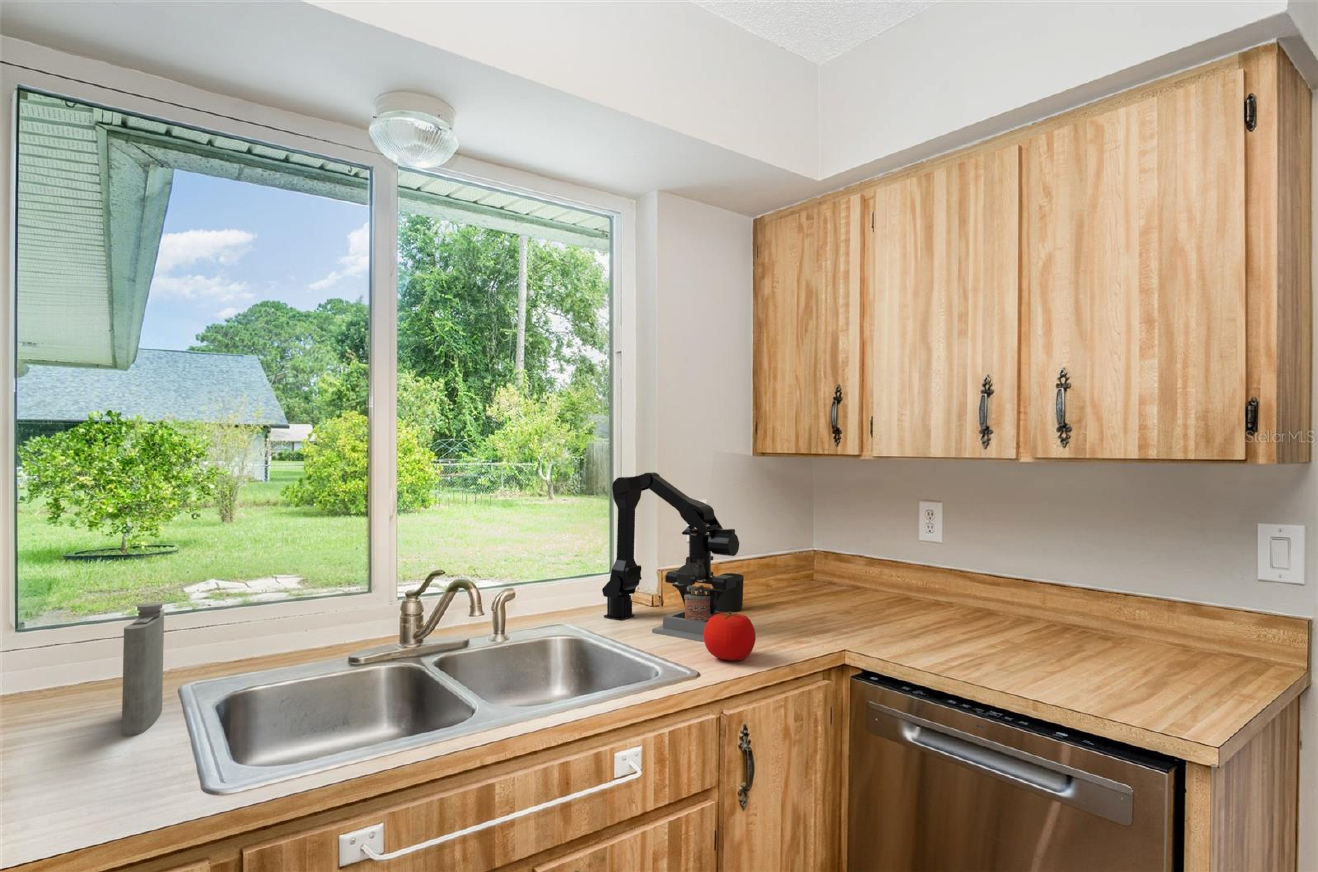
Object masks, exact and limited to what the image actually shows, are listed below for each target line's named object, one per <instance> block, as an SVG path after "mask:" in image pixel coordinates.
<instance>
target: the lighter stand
mask: <svg viewBox="0 0 1318 872" xmlns="http://www.w3.org/2000/svg"><path fill="white" fill-rule="evenodd" d="M721 613H726V612H721V611H716V610H715V612H714V615H716V614H721ZM706 624H707V622H703V621H697V620H690V619H685V609H683V610H680V611H679V610H678V611H677V612H674V613H670V614H667V615H664V616H663V617H662V625H660V626H657V627H656V626H655V627H654V628H652V629H651V632H652V634H657V635H658V634H659V635H662V636H663V635H664V636H669V637H673V638H674V637H675V638H681V639H686V640H692V641H696V642H697V641H698V642H703V643H705V642H704V635H703V634H704V628H705V626H706Z"/></svg>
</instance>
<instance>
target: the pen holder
mask: <svg viewBox="0 0 1318 872" xmlns="http://www.w3.org/2000/svg"><path fill="white" fill-rule="evenodd" d="M721 575H727V576H733V577H734V578H735V580H736V587H734V588H731V589H728V590H725V591H724V593H723V594H722V596H721V598H720V600H719V602H718V605H717V607H716V609H715V611H720V612H728V613H729V612H731V613H737V612H741V611H742V610H743V605H744V604H743V603H744V575H743V574H740V573H732V572H725V573H722V574H721ZM711 577H716V576H715V575H713V576H711Z"/></svg>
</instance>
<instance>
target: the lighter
mask: <svg viewBox="0 0 1318 872" xmlns="http://www.w3.org/2000/svg"><path fill="white" fill-rule="evenodd" d="M708 589H711V586H704V585H702V584H701V585H698V586H697V585H692V586H688V587H687V591H692V592H691V594H685V595H684V598H685V605H684V610H685V619H690V620H697V621H703V622H708V621H709V619H710V618H711V617H713V616H714V614H712V615H711V614H710V593H709V591H708Z"/></svg>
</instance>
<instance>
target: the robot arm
mask: <svg viewBox="0 0 1318 872" xmlns="http://www.w3.org/2000/svg"><path fill="white" fill-rule="evenodd" d="M611 485H612V486H611V490H612V498H613V501H614V503H615V505H616V507H617V531H616V532H617V536H616V559H615V560H614V561H615V562H614V564H613V565H612V568H611V570H610V576H609V577H610V578H609V580H608V582H607V583H606V584H605V585H604V586H603V588H602V589H601V592H602V595H603V597H604V598H607V599H606V605H607V606H606V609H607V611H606V612H607V613H606V614H604V615H603V618H606V619H612V620H619V621H623V620H626V619H629V618H632V617H635V614H634V613H633V601H632V594H633V595H634V594H635V593H636V590H637V587H638V586H639V585H640V581H641V580H642V575H641V573H642V565H640V564H639V565H638V564H637V563H636V560H635V537H636V536H635V533H636V532H635V531H636V508H637V506H638V504H639V502H640V500H641V498H642V492H643V491H647V490H650V491H651V492H653V493H654V494H655V495H657V496H658V497H659V498H661V499H662V500H663V501H665V502H666V503H668V504H669V505H670V506H672V507H673V508H674V509H675V510H676V511H677V512H678V513H679V516H680V517H681V519H682V520H683V521H684V522H685V523H686V524H687V527H686V528H685V529H684V530H683V531H682V532H681V535H684V536H688V556H686V559H685V564H682V566H681V567H680V568H678V569H673V570H668V571H667V572H666V573H665V576H664V577H665V579H664V582H665V583H667V584H671V586H672V587H675V589H677V590H678V592H679V594H680V596H681V597H680V598H681V599H682V602H683V604H684V605H683V606H685V598H684V595H685V594H692V591H687V587H688V586H695V584H696V583H697V584H705V585H706V584H707V585H711V587H710V589H708V591H709V593H710V614H711V615H712V614H714V612H715V611H716V610H715V609H716V607H717V605H718V602H719V600H720V598H721V596H722V594H723V593H724V591H725V590H728V589H731V588H734V587H736V580H735V578H734V577H733V576H727V575H722V574H720V575H717V576H715V577H712V576H714V571H712V561H714V556H713V555H720V556H727V557H735V556H736V555H738V553H739V548H740V541H739V537H738V535H737V534H736V530H735V528H729V529H727V528H723V527H722V525H721V523H720V522H719V520H718V518H717V517H716V515H715V510H714V509H713V507H712V506H711V505H709V504H707V503H704V502H703V501H700V500H697V499H694V498H691V497H689V496H688V495H687V494H685V493H683V492H682V491H681V490H680V489H678V488H677V487H675V485H672V483H670V482H669V481H667V480H666V479H664V478H663V477H661V475H660V474H659V473H658V472H653V471H652V472H645V473H643V474H639V475H635V476H619V477H617V478H615V480H614V481H613V482H612V484H611Z"/></svg>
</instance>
